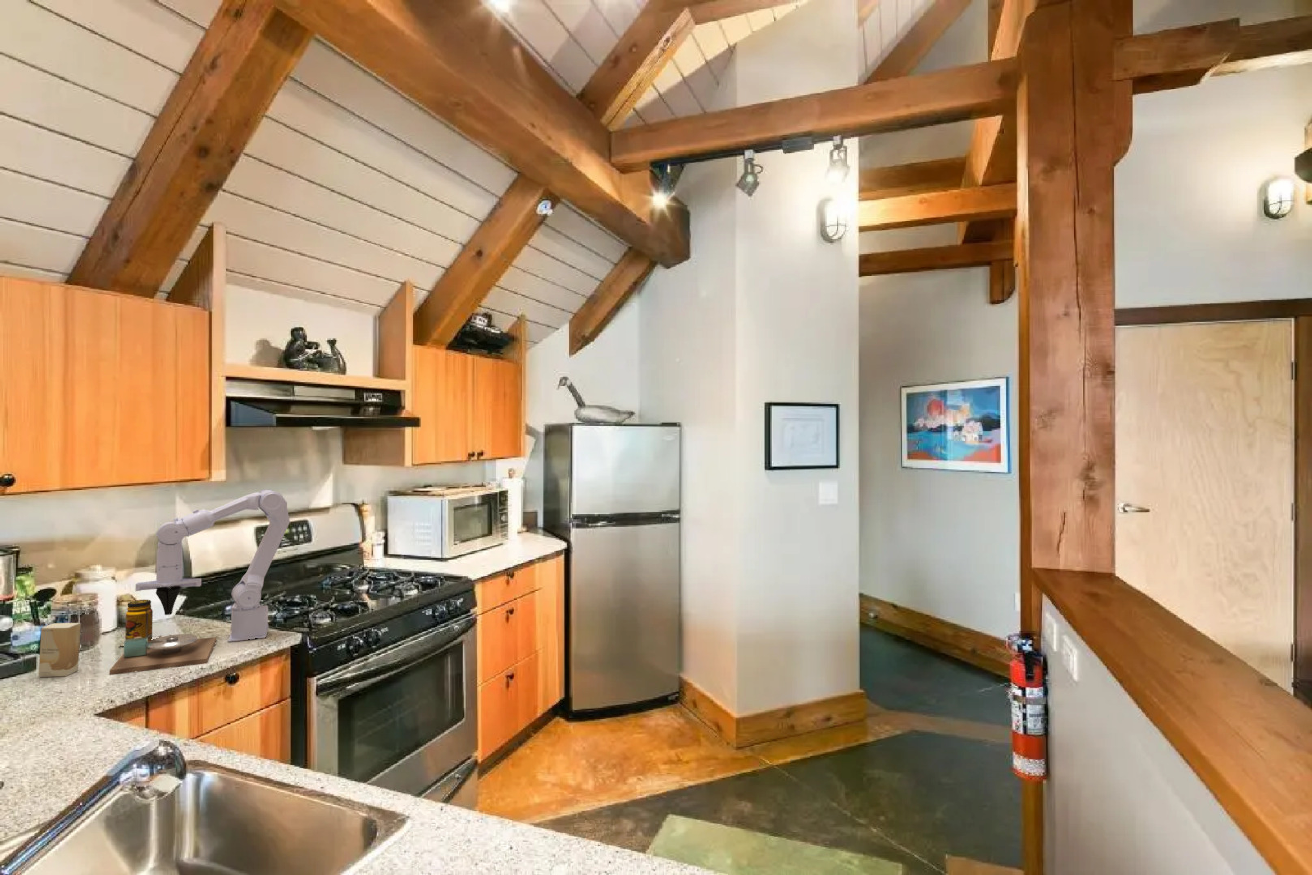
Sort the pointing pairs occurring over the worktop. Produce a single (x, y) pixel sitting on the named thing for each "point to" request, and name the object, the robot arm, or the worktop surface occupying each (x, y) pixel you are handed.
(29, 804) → the worktop surface
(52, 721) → the worktop surface
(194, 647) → the walnut base
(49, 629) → the skincare box
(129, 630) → the condiment
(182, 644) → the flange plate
